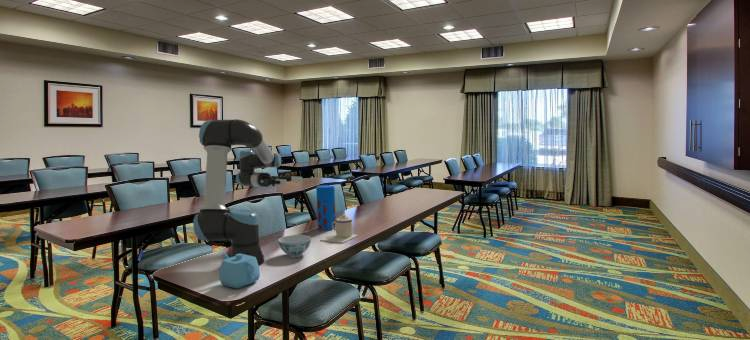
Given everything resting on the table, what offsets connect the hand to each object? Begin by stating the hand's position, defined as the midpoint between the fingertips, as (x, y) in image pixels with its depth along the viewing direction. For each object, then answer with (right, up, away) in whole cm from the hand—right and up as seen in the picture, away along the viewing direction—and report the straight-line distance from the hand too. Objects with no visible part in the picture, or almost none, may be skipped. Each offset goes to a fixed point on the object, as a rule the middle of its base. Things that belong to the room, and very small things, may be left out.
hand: (294, 180), depth 213 cm
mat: (+23, -31, +8) cm, 39 cm away
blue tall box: (+13, -29, +32) cm, 45 cm away
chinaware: (+5, -34, -21) cm, 40 cm away
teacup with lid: (+24, -30, +12) cm, 40 cm away
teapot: (-10, -38, -56) cm, 68 cm away
